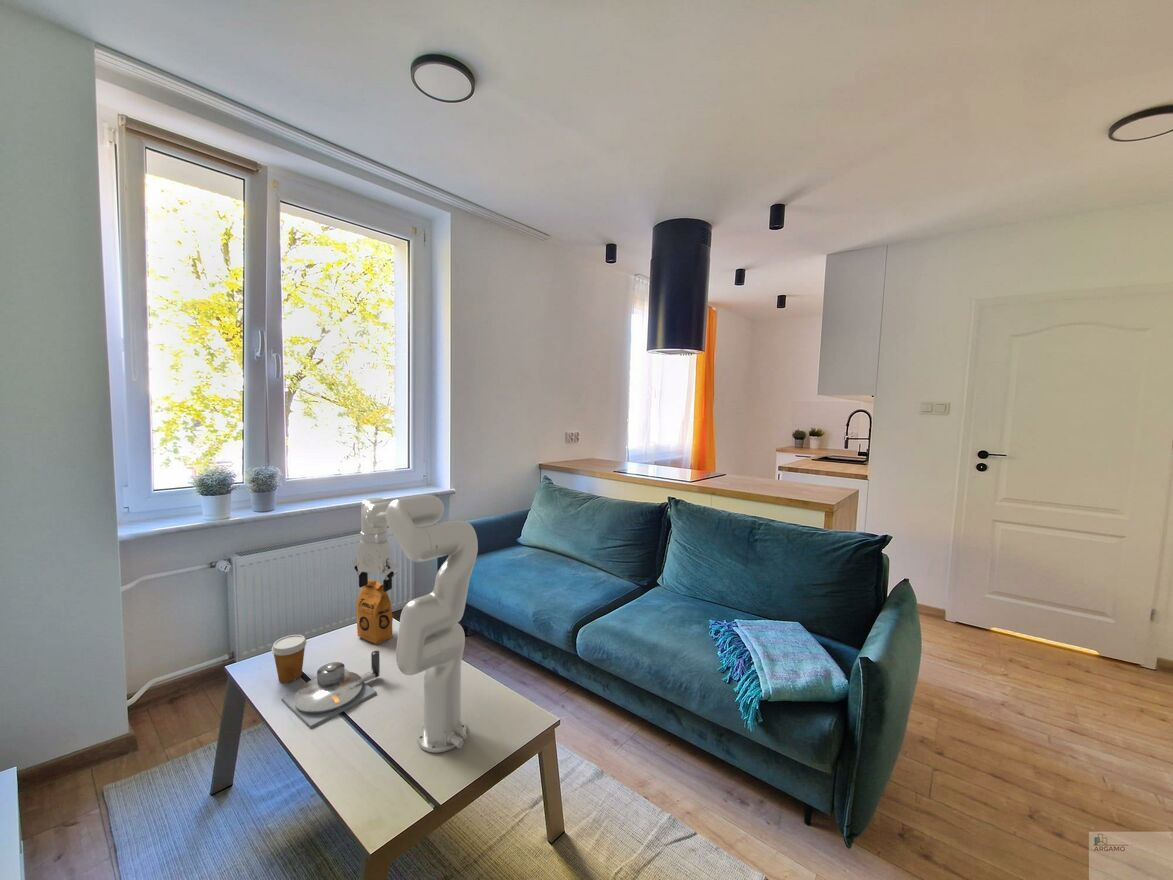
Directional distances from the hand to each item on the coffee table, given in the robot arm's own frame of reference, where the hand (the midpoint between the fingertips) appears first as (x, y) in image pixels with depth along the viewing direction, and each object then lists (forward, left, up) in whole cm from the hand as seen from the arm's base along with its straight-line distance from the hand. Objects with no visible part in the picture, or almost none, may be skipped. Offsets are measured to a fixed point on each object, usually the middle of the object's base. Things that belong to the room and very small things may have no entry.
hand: (375, 588), depth 150 cm
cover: (+4, +13, -27) cm, 30 cm away
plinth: (0, +15, -29) cm, 33 cm away
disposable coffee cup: (+20, +18, -30) cm, 40 cm away
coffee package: (+22, -12, -30) cm, 38 cm away
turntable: (-1, +12, -28) cm, 31 cm away
